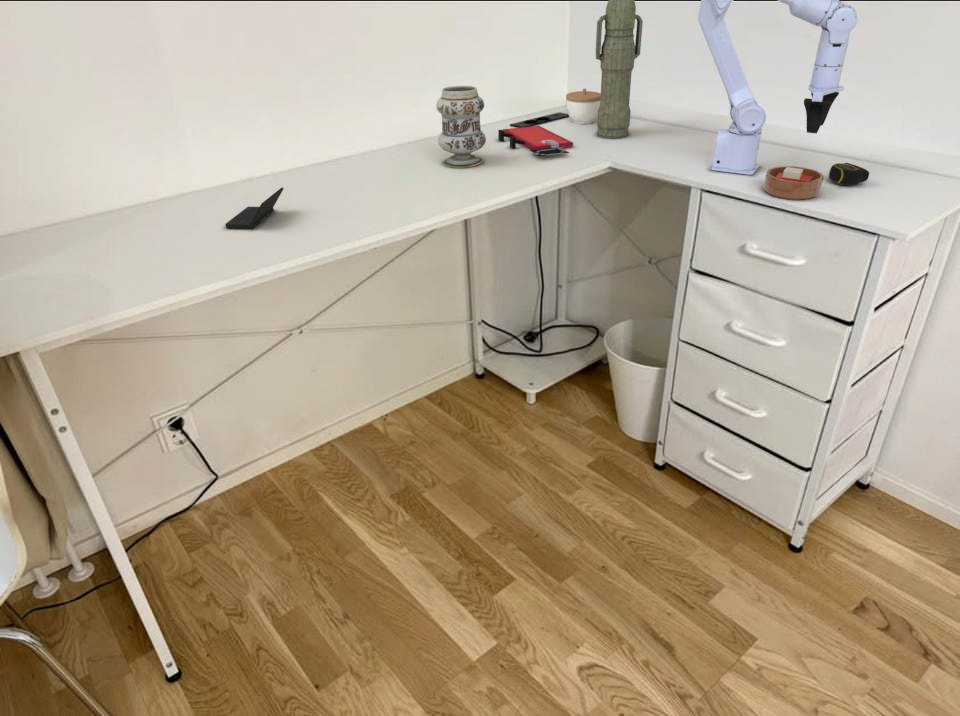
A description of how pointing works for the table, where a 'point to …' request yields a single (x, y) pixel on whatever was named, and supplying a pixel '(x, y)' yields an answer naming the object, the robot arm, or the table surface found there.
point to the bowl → (793, 184)
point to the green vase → (617, 66)
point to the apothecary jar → (461, 125)
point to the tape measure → (847, 174)
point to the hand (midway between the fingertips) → (814, 128)
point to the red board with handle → (536, 140)
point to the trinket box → (583, 106)
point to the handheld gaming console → (254, 214)
